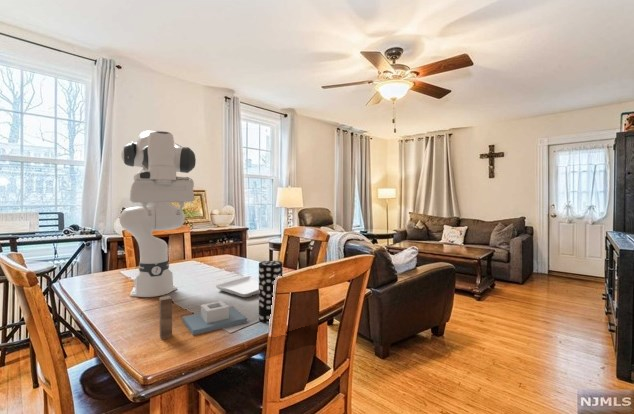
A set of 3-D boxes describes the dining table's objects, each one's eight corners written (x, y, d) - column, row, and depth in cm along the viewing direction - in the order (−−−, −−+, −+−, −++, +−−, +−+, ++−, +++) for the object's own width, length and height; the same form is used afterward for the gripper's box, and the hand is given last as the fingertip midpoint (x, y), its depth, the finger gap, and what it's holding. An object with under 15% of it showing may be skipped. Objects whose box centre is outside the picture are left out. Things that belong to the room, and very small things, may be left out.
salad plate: (244, 301, 129) (244, 293, 129) (214, 292, 142) (214, 284, 142) (279, 289, 146) (279, 282, 146) (250, 282, 159) (250, 275, 159)
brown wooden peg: (159, 335, 96) (159, 297, 96) (170, 333, 98) (169, 295, 98) (161, 339, 94) (161, 300, 93) (172, 336, 95) (171, 298, 95)
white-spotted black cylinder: (261, 314, 114) (261, 260, 114) (283, 314, 114) (284, 260, 114) (256, 323, 106) (256, 265, 106) (280, 323, 106) (280, 265, 105)
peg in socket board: (182, 320, 108) (182, 305, 108) (232, 310, 119) (232, 295, 118) (192, 335, 97) (192, 317, 97) (247, 322, 107) (247, 306, 107)
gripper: (191, 178, 118) (192, 214, 117) (128, 176, 106) (129, 216, 105) (195, 175, 113) (197, 213, 112) (130, 173, 101) (131, 215, 100)
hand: (164, 215), depth 109 cm, fingers open, 8 cm apart
